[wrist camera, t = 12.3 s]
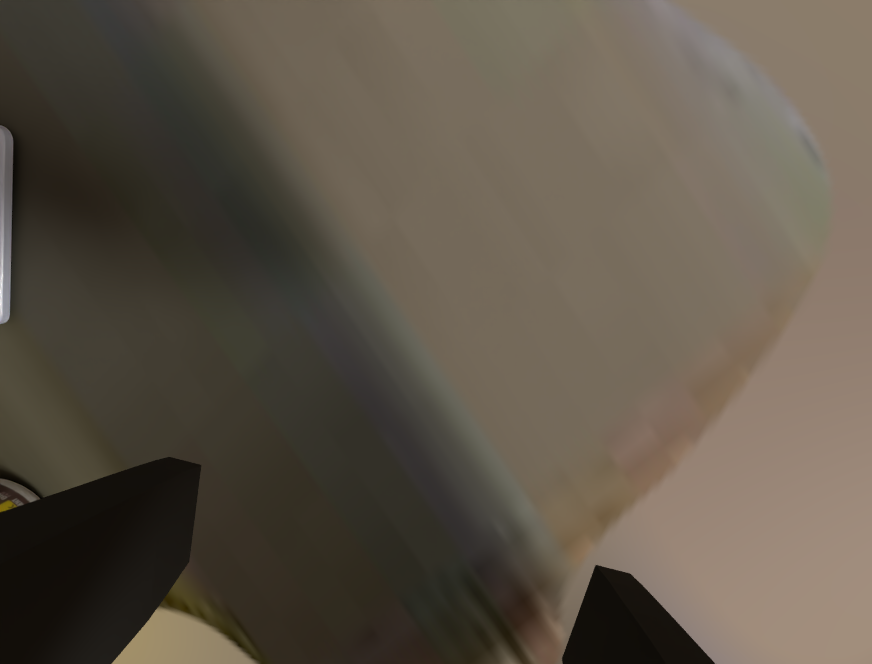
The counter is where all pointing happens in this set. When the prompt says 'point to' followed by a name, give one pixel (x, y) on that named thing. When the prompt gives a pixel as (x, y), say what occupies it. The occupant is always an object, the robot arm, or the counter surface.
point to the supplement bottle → (14, 495)
